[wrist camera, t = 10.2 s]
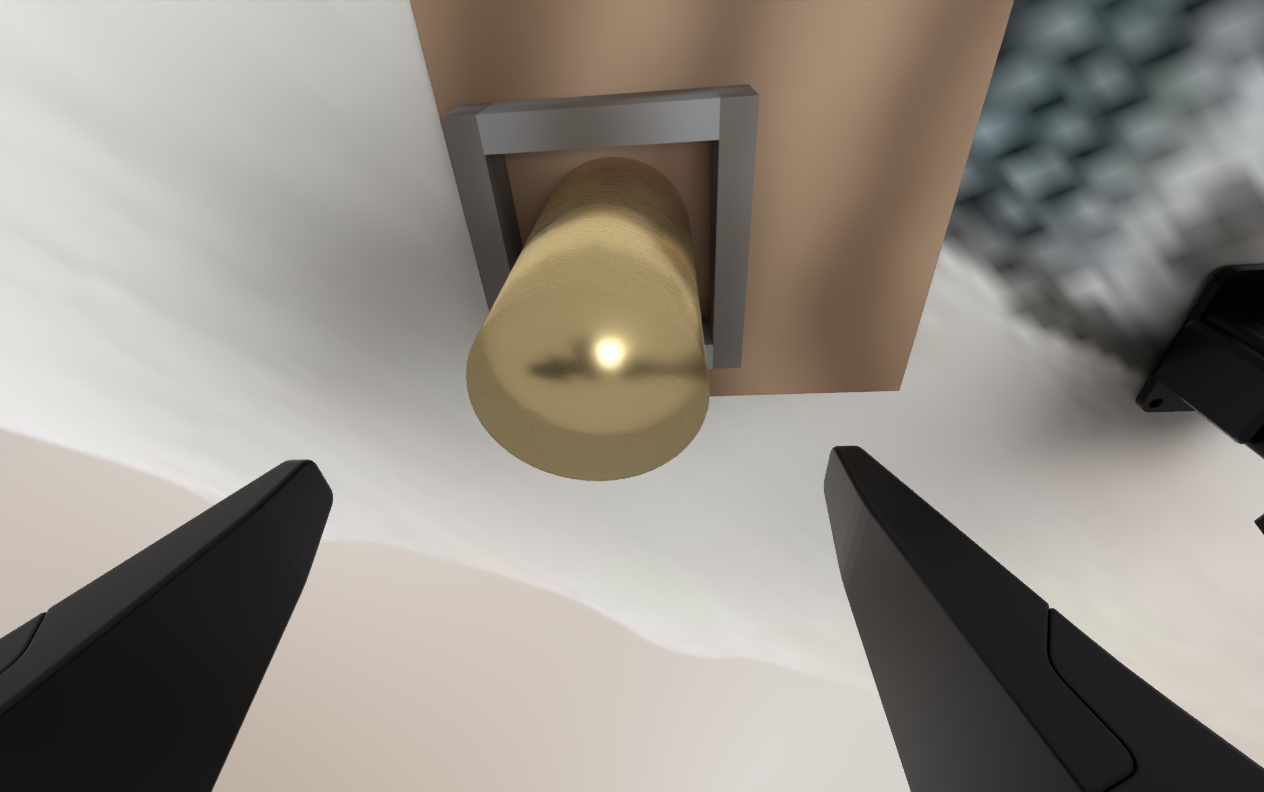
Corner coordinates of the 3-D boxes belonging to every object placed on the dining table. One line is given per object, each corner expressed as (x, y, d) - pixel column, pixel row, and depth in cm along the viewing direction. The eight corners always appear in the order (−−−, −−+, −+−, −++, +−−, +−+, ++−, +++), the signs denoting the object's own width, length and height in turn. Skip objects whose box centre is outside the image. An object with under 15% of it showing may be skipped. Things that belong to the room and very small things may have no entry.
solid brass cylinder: (689, 151, 16) (712, 279, 9) (690, 297, 19) (707, 479, 12) (530, 162, 17) (435, 293, 10) (555, 303, 20) (497, 482, 13)
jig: (1001, -59, 14) (1084, -72, 12) (886, 369, 23) (918, 422, 20) (426, -9, 15) (376, -9, 13) (520, 381, 24) (501, 432, 21)
